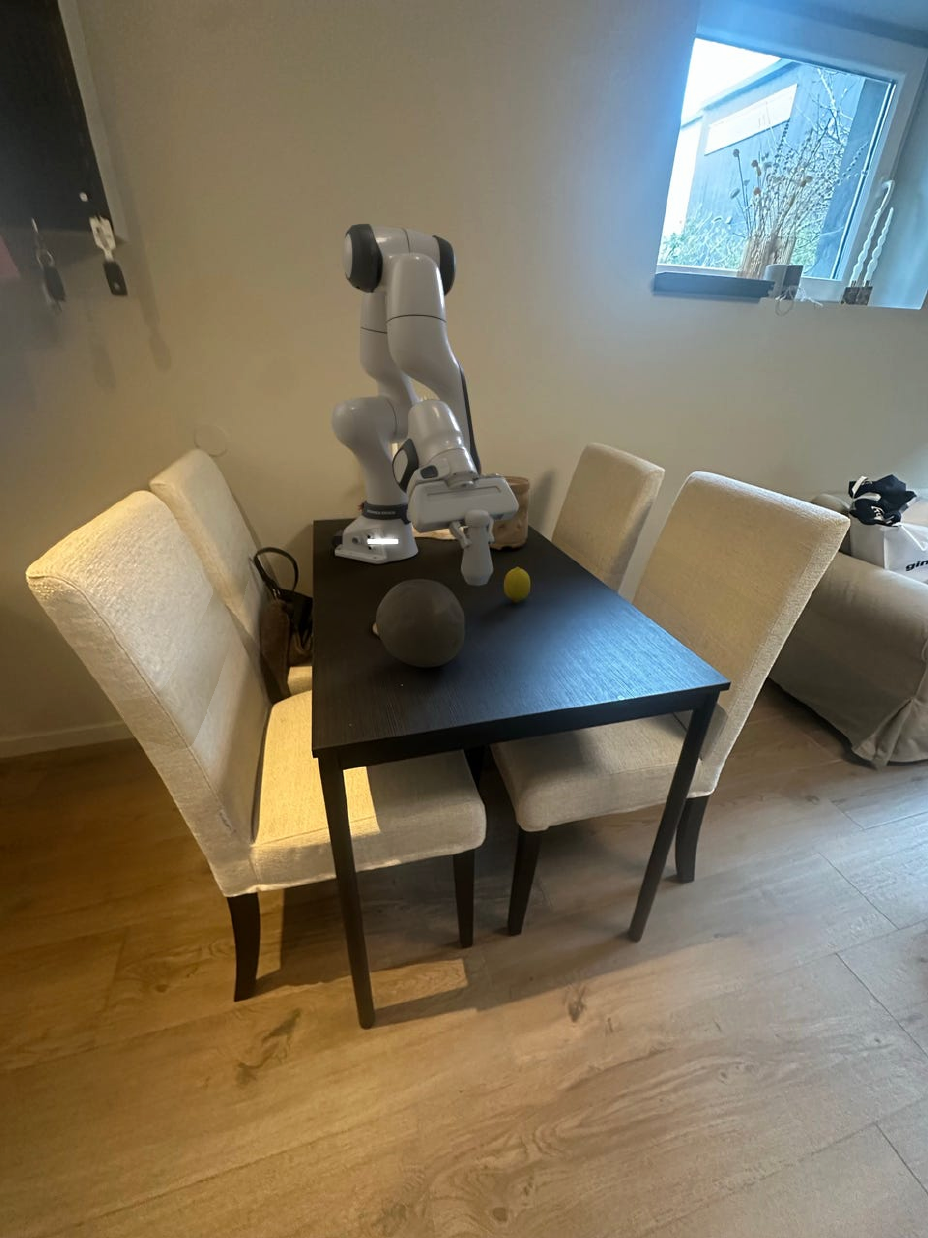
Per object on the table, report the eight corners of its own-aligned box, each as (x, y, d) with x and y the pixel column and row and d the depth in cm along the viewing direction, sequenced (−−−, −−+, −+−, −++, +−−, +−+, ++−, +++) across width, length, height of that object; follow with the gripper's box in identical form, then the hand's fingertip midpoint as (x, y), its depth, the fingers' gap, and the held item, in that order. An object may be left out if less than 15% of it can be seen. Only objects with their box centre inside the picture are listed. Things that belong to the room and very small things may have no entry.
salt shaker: (493, 576, 93) (495, 507, 87) (492, 588, 88) (493, 516, 82) (462, 575, 94) (462, 506, 88) (459, 587, 89) (458, 515, 83)
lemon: (512, 610, 103) (513, 574, 100) (498, 600, 108) (499, 565, 104) (534, 604, 106) (536, 569, 102) (520, 595, 110) (521, 561, 106)
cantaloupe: (422, 636, 93) (418, 561, 87) (482, 661, 85) (483, 580, 79) (364, 667, 84) (355, 586, 77) (425, 699, 76) (421, 611, 69)
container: (478, 550, 137) (478, 483, 129) (486, 536, 148) (487, 474, 140) (523, 553, 134) (527, 486, 126) (529, 539, 145) (532, 476, 137)
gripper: (496, 482, 97) (521, 544, 94) (397, 493, 89) (421, 562, 86) (509, 462, 92) (536, 527, 88) (405, 472, 84) (430, 544, 80)
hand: (478, 544), depth 87 cm, fingers closed on salt shaker, 3 cm apart
